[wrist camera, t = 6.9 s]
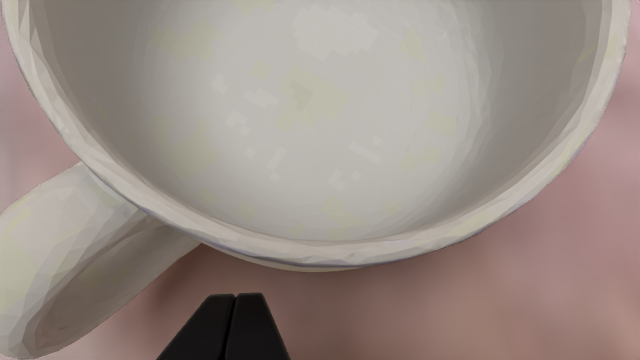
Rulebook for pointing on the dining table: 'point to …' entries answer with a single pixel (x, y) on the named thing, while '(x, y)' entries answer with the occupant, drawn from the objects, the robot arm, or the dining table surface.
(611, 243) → the dining table surface
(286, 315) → the dining table surface
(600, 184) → the dining table surface
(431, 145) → the teacup
